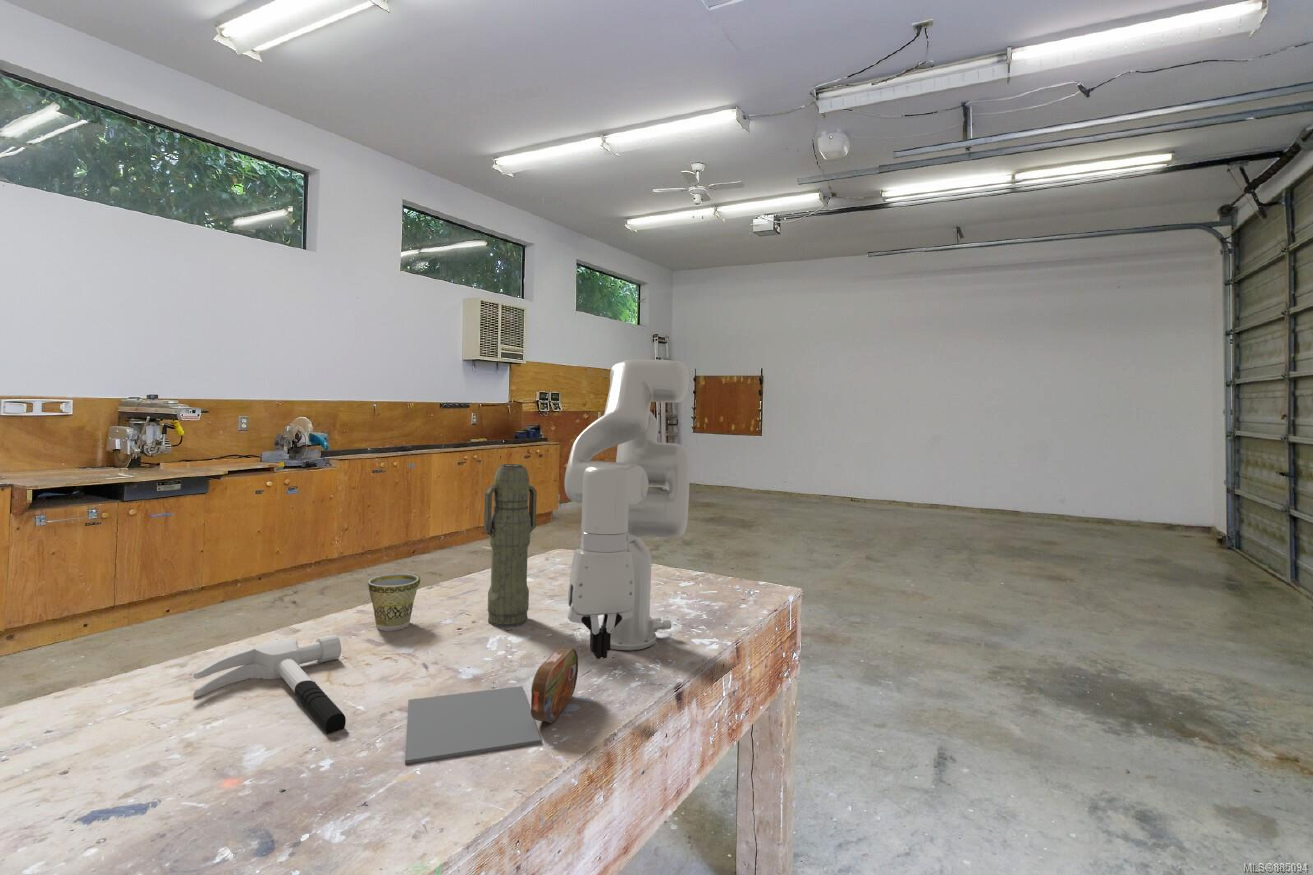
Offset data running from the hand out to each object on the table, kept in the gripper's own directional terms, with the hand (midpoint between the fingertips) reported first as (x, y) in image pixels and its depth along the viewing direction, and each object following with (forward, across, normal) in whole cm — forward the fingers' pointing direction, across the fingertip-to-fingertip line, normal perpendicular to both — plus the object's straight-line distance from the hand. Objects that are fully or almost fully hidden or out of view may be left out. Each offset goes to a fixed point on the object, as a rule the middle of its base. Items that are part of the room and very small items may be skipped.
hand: (599, 655), depth 100 cm
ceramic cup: (+8, +32, -49) cm, 59 cm away
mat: (+9, +20, -1) cm, 21 cm away
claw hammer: (+9, +46, -16) cm, 50 cm away
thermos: (+8, +9, -45) cm, 46 cm away
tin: (+8, +7, -1) cm, 11 cm away
